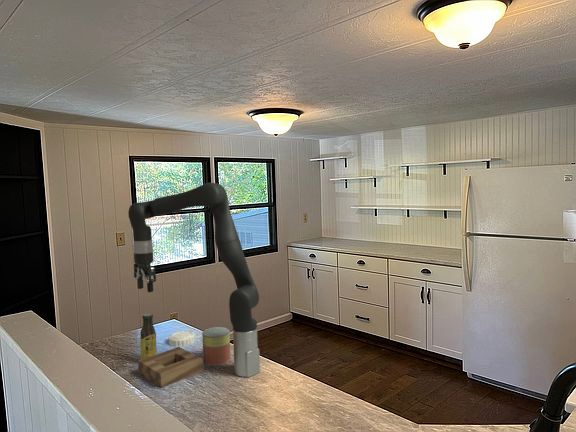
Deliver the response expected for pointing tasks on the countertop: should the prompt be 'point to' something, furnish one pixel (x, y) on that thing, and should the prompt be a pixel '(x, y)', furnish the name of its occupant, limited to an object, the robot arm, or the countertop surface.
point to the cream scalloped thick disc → (181, 338)
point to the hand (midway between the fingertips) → (145, 290)
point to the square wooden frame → (170, 366)
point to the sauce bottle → (148, 337)
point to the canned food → (216, 346)
